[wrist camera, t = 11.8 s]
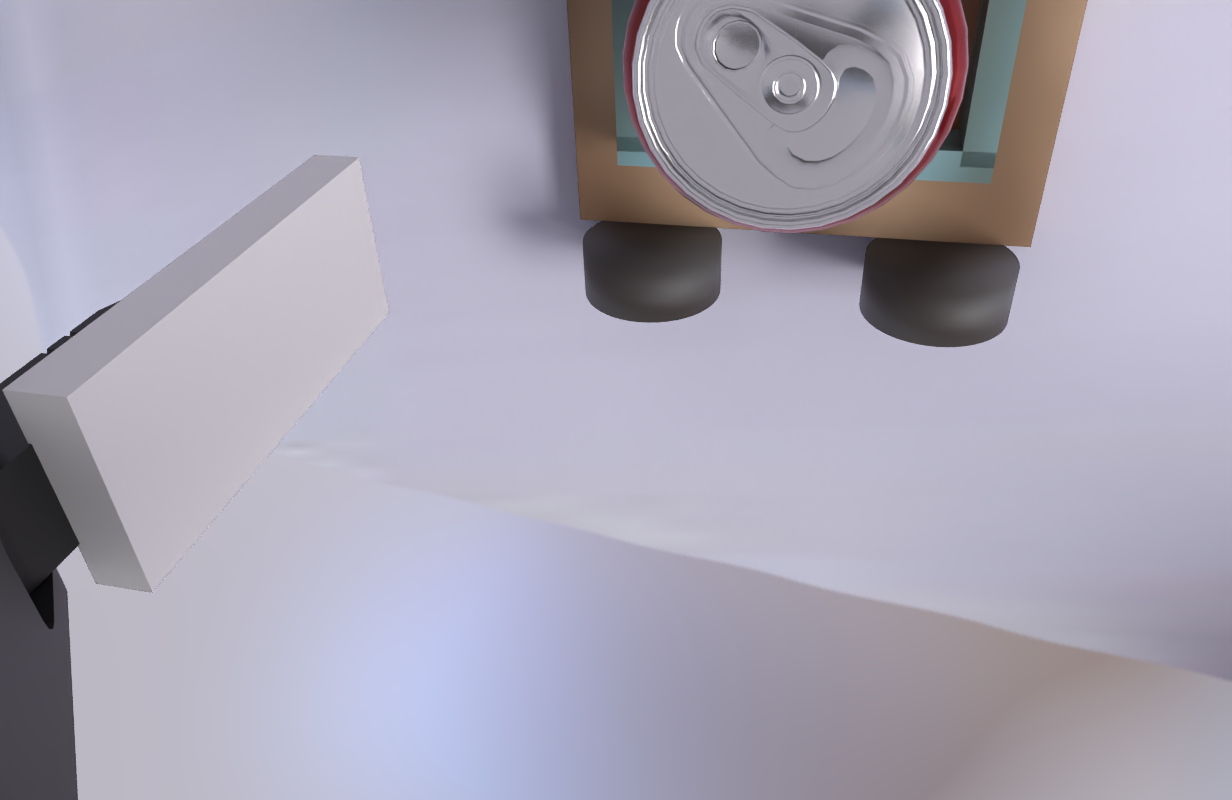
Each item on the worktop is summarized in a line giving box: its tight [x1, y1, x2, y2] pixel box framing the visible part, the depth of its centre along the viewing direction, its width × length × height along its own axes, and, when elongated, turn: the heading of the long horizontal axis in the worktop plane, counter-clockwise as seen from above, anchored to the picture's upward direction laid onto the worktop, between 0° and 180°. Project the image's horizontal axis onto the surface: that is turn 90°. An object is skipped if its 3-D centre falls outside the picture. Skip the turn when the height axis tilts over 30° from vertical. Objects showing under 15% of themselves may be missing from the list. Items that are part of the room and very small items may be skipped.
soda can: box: [622, 0, 969, 233], centre depth 25 cm, size 7×7×12 cm
